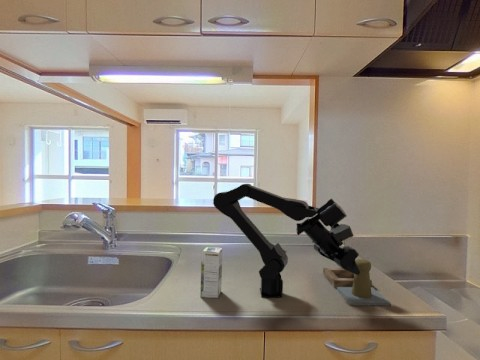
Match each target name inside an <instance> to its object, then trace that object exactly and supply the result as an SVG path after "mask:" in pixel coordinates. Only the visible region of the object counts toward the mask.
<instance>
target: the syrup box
mask: <svg viewBox="0 0 480 360" xmlns="http://www.w3.org/2000/svg"><path fill="white" fill-rule="evenodd" d="M223 249H224V248H222V247H218V246H207V247H205V248H204V249H203V250H202V251H201V268H200V294H199V295H200V298H207V299H208V298H210V299H211V298H212V299H218V298H220V295H221V292H222V284H223V283H222V280H223V279H222V277H223V276H222V275H223Z"/></svg>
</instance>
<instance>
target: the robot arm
mask: <svg viewBox="0 0 480 360" xmlns="http://www.w3.org/2000/svg"><path fill="white" fill-rule="evenodd" d="M245 197H246V198H249V199H251V200H253V201H256V202H258V203H261V204H264V205H267V206H269V207H271V208H274V209H276V210H278V211H280V212H281V213H282V214H283V215H285V216H286V217H288V218H290V219H291V220H292V221H296V222H297V223H296V230H295V231H296V234H297V236H299V235H301V234H303V233H304V234H305V235H306V236H307V237H308V238H309V239H310V240H311V242H312V244H313V249H314V251H315V252H316V253H318V255H321V256H322V257H323V258H326V259H328V260H330V261H333V262H334V263H335V264H336V265H337V266H338V268H342V269H344V270H347V271H349V272H352V273H354V274H356V275H359V274H360V271H359V268H358V266H357V264H356V261H355V260H357V259H358V257H359V252H358V251H357V250H356V249H354V248H353V247H351V246H348V245H347V246H343V247H341V246H342V245H343V244H344V242H343V241H346V240H347V239H349V238H353V236H354V233H353V230H352V228H351V226H350V225H348V224H345V223H340V222H342V220H344V219H345V218H347V217H348V216H347V214H346V212H345V210H344V209H343V208H342V207H341V206H340V205H339V204H338V203H337V202H336V201H335V200H334V199H333V198H330V199H329V200H327V201H326V202H325V203H324V204H322V205H321V206H320V207H317V206H316V207H315V206H312V205H309V204H308V202H306V201H305V200H300V199H295V198H289V197H282V196H280V195H278V194H275V193H272V192H270V191H267V190H264V189H261V188H260V187H257V186H254V185H252V184H251V183H242V184H241V185H239V186H237V187H235V188H233V189H230V190H228V191H222V192H219V193H218V192H217V193H216V194H214V197H213V202H212V203H213V206H214V208H216V210H217V211H219V212H220V213H222V215H224V216H226V217H228V218H229V219H231V220H232V221H233V223H234V224H236V225H235V226H237V227H238V228H239V229H240V231H241V233H242V234H243V235H244V236H245V237H246V239H248V241H249V242H250V243H251V244H252V245H253V247H254V248H255V249H256V250H257V251H258V253H259V255H260V258H261V261H262V263H263V264H264V265H263V266H262V267H261V268H260V269H259V270H258V274H259V277H260V287H259V292H260V297H261V298H282V296H283V295H282V294H283V292H284V291H283V290H284V288H283V287H284V286H283V285H284V280H283V278H282V275H281V273H282V272H283V271H284V269H285V268H286V266H287V265H288V262H289V257H288V255H287V251H286V250H285V249H283V248H282V245H280V243H279V242H277V243H276V244H274V243H272V242H270V241H269V240H268V239H267V238H266V236H265V235H264V234H263V233H262V231H260V230H259V228H258V227H257V226H256V225H255V224H254V222H253V221H252V220H251V219H250V218H249V217H248V216H247V214H246V213H245V212H244V211H243V209H242V207H241V204H240V201H241V200H242V199H244V198H245ZM303 220H304V221H303ZM301 221H302V222H301ZM298 222H300V223H298ZM339 223H340V224H339ZM326 227H330V230H329V229H327V228H326Z"/></svg>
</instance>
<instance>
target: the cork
mask: <svg viewBox="0 0 480 360" xmlns="http://www.w3.org/2000/svg"><path fill="white" fill-rule="evenodd" d="M355 261H356V264H357V266H358V268H359V271H360V274H359V275H356V274H355V275H354V277H353V278H354V281H353V286H352V292H351V293H352V294H353V295H354V296H356V297H360V298H370V297H372V293H371V284H370V280H371V275H370V271H371V269H372V263H371V262H370V261H369V260H367V259H364V258H356V259H355Z"/></svg>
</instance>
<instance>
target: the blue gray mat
mask: <svg viewBox="0 0 480 360" xmlns="http://www.w3.org/2000/svg"><path fill="white" fill-rule="evenodd" d="M336 290H337V291H338V293H340V294H341V296H342V297H343V298H344V299H345V300H346V302H348V304H349V305H350V306H387V307H388V306H391V302H390V301H389V300H388V299H386V298H385V297H384V296H383V295H382V294H381V293H380V292H378V291H377V290H376V289H375V288H374V287H373V286H372V287H371V293H372V297H370V298H360V297H356V296H354V295H353V294H352V293H351V292H352V287H337V288H336Z"/></svg>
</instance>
